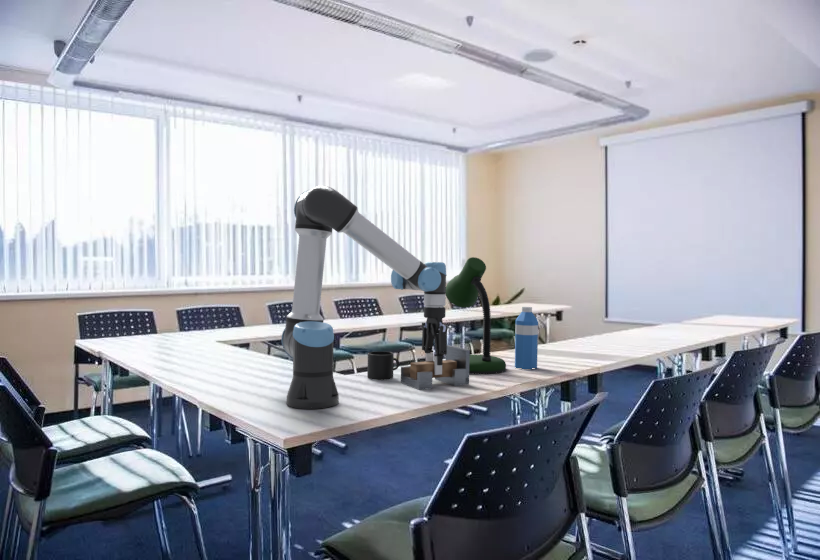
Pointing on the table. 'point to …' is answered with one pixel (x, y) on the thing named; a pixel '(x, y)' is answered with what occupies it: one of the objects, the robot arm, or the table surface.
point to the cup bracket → (462, 371)
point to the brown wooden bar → (432, 368)
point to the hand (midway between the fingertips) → (433, 372)
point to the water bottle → (526, 339)
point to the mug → (381, 365)
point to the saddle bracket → (420, 383)
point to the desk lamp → (465, 295)
